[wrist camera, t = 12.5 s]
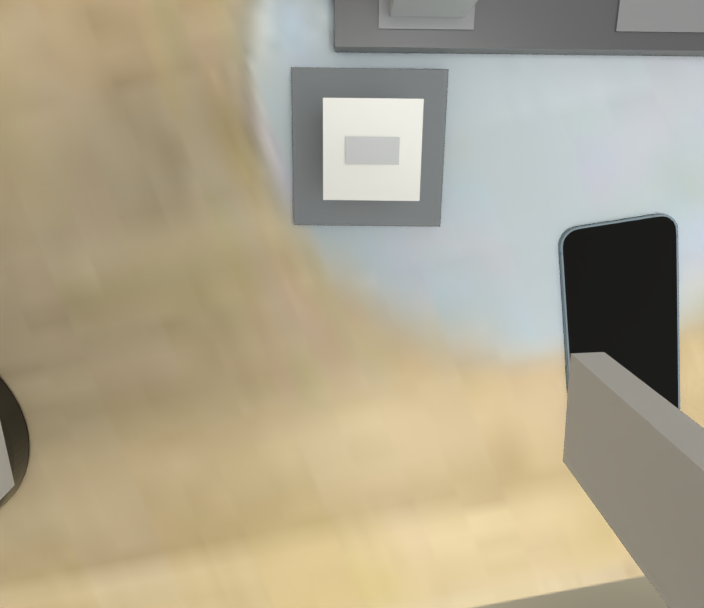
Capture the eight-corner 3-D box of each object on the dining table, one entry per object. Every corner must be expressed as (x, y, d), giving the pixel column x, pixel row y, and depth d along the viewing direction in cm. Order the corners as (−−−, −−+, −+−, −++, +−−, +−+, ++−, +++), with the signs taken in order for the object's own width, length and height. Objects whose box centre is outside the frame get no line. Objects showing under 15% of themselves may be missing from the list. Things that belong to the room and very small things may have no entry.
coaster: (295, 222, 35) (293, 224, 35) (292, 69, 33) (291, 67, 32) (437, 224, 35) (440, 226, 35) (445, 71, 33) (448, 69, 32)
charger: (329, 188, 34) (322, 200, 26) (330, 109, 33) (322, 96, 25) (404, 189, 34) (420, 201, 26) (407, 110, 33) (424, 98, 25)
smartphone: (679, 211, 35) (681, 428, 39) (670, 210, 36) (674, 422, 40) (559, 230, 35) (573, 443, 39) (554, 228, 36) (568, 437, 40)
